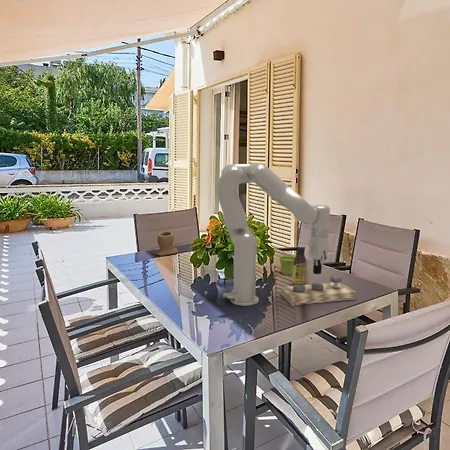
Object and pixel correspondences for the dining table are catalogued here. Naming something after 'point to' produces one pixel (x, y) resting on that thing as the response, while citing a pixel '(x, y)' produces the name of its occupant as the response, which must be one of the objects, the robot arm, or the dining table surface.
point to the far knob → (335, 280)
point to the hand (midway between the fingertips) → (317, 273)
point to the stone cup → (166, 243)
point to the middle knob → (317, 286)
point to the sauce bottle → (299, 267)
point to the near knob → (298, 288)
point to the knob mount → (317, 293)
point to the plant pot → (287, 264)
